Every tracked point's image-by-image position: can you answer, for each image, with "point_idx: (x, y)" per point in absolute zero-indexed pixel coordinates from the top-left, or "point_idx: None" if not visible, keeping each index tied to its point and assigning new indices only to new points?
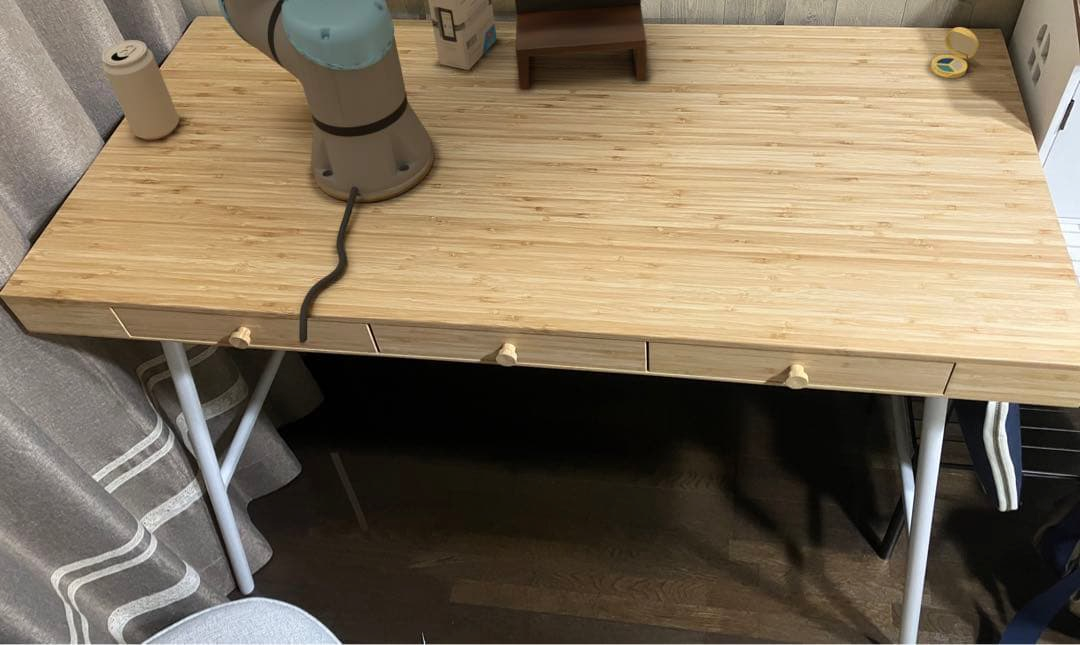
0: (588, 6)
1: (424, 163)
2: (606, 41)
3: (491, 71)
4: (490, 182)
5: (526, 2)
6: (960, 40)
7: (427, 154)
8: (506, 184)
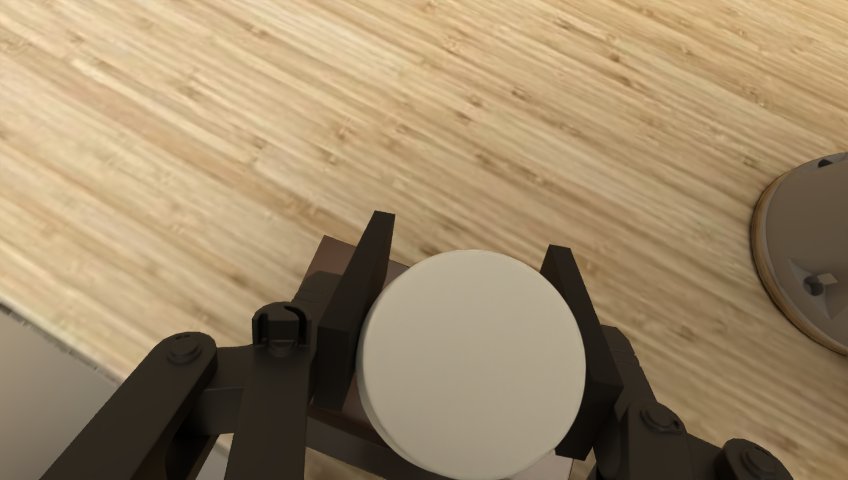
0: (379, 435)
1: (783, 182)
2: (403, 271)
3: None
4: (669, 135)
5: None
6: None
7: (780, 193)
8: (647, 121)
